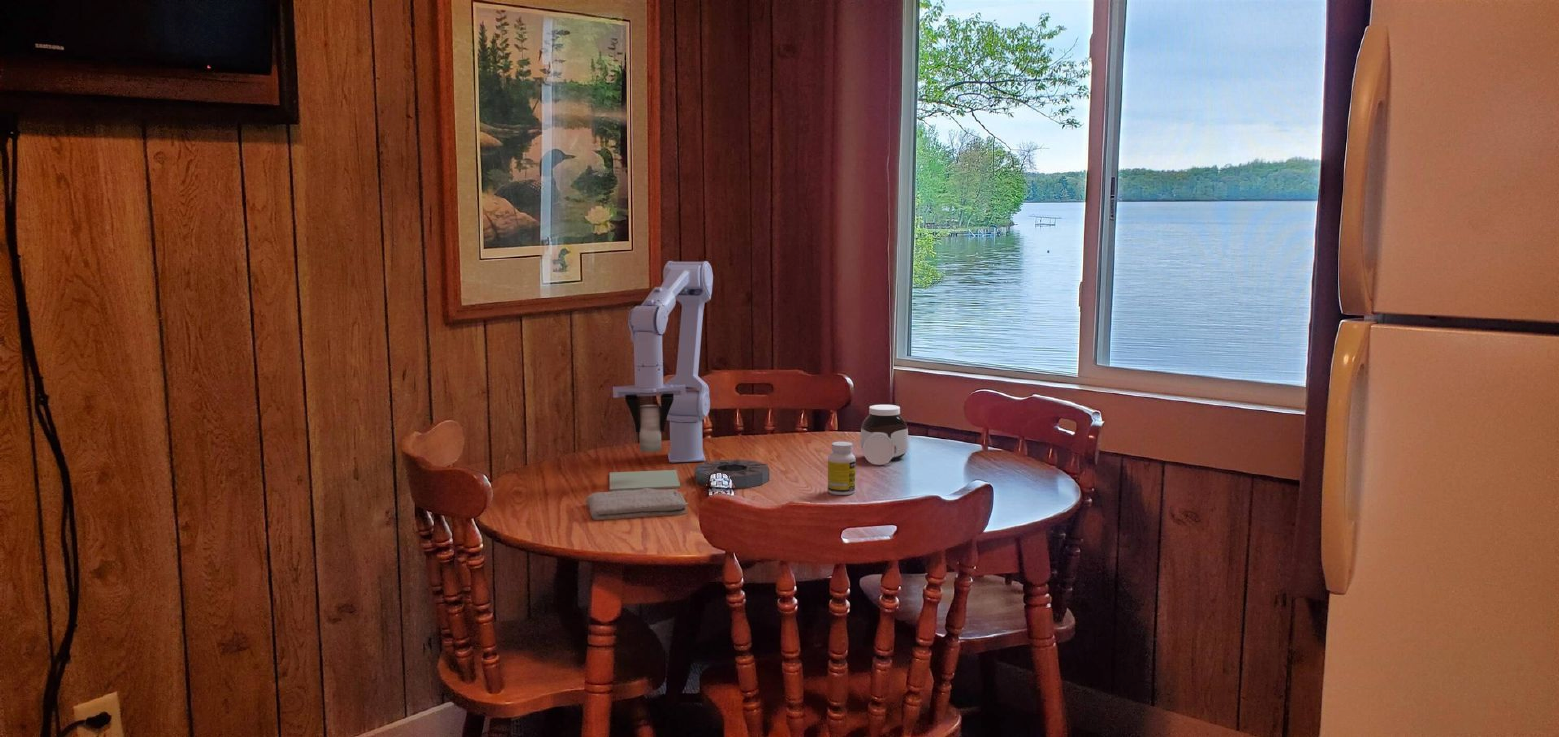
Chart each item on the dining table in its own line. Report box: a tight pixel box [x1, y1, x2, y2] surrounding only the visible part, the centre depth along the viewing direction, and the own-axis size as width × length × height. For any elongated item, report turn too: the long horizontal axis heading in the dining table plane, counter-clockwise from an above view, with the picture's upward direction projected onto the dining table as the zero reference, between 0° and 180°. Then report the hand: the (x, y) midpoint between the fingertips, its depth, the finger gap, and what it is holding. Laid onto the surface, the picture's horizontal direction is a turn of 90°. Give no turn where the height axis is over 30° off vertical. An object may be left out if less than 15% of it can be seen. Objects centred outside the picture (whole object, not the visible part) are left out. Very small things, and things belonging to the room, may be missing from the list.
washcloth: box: [585, 488, 689, 521], centre depth 202 cm, size 12×18×3 cm, turn 105°
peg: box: [638, 404, 662, 453], centre depth 221 cm, size 4×4×9 cm
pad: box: [609, 469, 681, 492], centre depth 223 cm, size 14×14×1 cm
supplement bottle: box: [827, 441, 856, 496], centre depth 212 cm, size 5×5×10 cm
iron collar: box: [694, 459, 770, 489], centre depth 224 cm, size 15×15×2 cm
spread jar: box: [860, 404, 909, 466], centre depth 240 cm, size 12×11×12 cm
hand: (650, 431), depth 222 cm, fingers closed on peg, 4 cm apart
